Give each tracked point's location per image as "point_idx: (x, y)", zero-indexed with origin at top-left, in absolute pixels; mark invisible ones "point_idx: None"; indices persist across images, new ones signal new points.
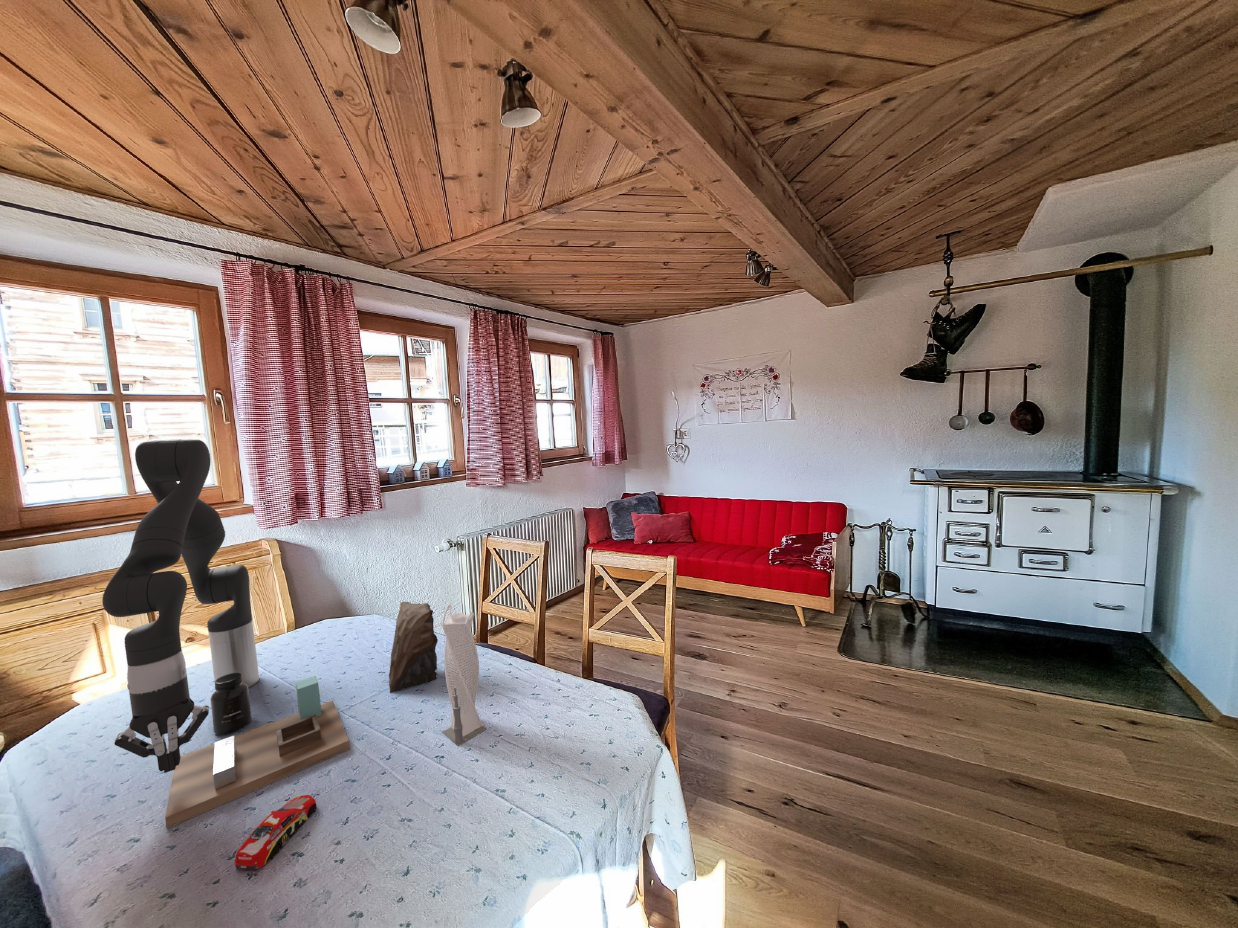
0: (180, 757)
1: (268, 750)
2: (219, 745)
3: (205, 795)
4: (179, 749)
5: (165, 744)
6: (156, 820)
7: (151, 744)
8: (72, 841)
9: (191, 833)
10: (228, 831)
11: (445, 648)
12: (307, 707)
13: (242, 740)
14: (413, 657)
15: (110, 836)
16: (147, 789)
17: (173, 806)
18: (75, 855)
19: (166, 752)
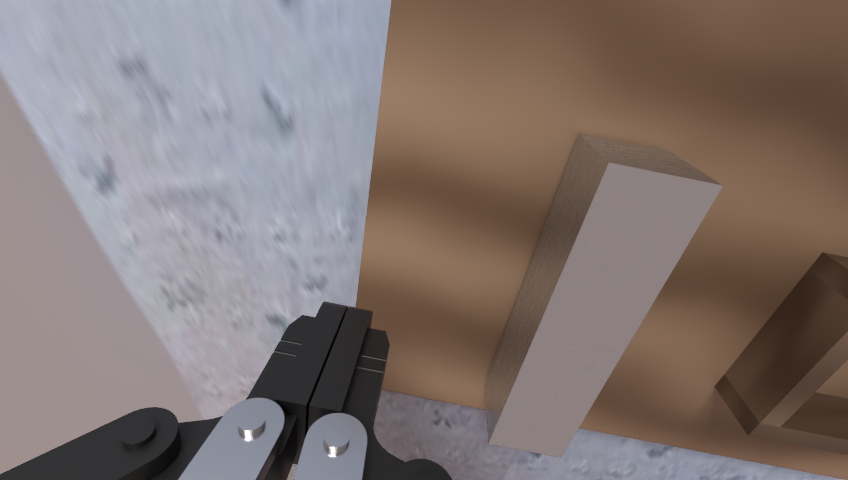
0: (388, 350)
1: (730, 306)
2: (605, 233)
3: (455, 378)
4: (378, 391)
5: (274, 464)
6: (331, 293)
7: (155, 453)
8: (102, 171)
9: (405, 417)
10: (468, 470)
11: None
12: None
13: (751, 63)
14: None
15: (217, 254)
16: (287, 14)
17: None
18: (145, 260)
19: (298, 449)
